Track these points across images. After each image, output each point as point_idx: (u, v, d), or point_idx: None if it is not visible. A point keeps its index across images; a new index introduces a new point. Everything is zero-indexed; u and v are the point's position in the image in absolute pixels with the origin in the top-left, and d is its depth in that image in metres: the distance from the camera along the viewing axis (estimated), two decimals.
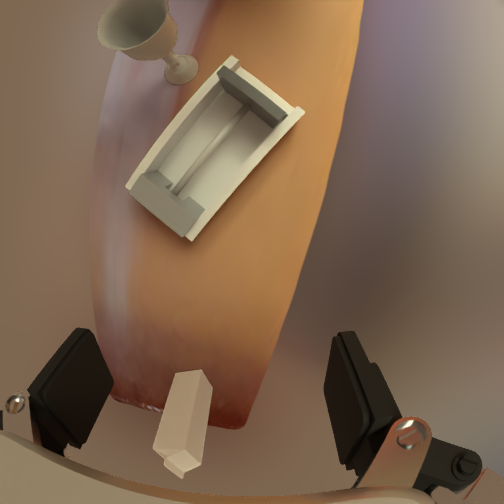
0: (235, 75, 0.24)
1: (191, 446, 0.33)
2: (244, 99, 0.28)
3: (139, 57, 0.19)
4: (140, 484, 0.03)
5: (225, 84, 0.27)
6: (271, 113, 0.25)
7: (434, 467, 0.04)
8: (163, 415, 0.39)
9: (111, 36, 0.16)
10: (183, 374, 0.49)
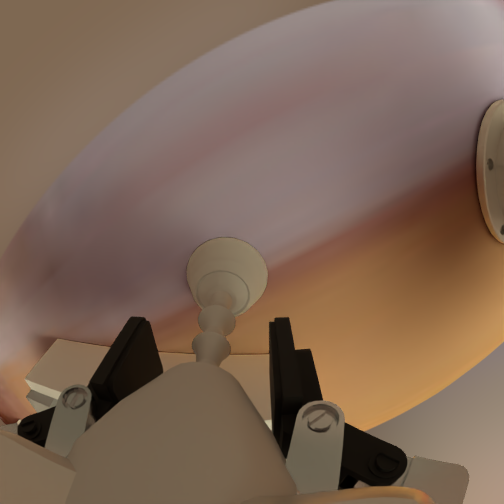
0: None
1: None
2: None
3: None
4: None
5: None
6: None
7: (347, 457, 0.05)
8: None
9: None
10: None
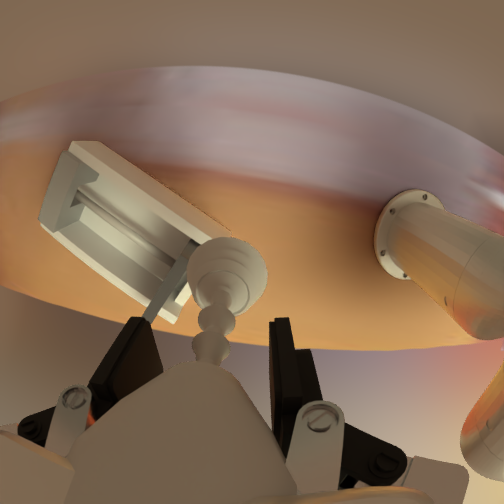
0: (179, 275, 0.24)
1: None
2: None
3: None
4: None
5: None
6: (145, 311, 0.25)
7: (347, 457, 0.05)
8: None
9: None
10: None
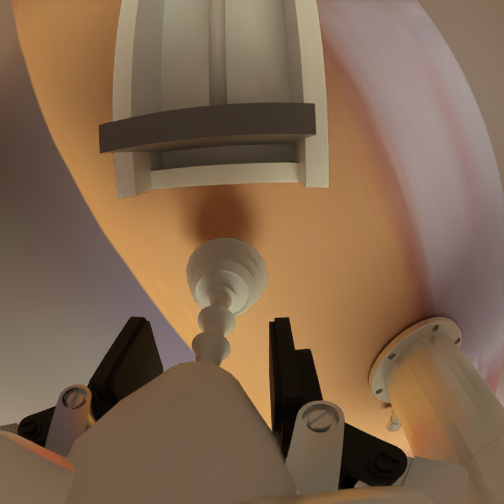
0: (266, 128, 0.09)
1: None
2: None
3: None
4: None
5: None
6: (120, 122, 0.09)
7: (348, 457, 0.05)
8: None
9: None
10: None
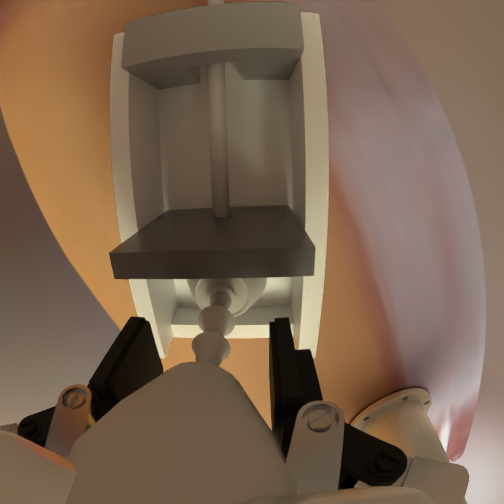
0: (268, 272, 0.11)
1: None
2: (227, 224, 0.14)
3: None
4: None
5: (284, 226, 0.13)
6: (130, 254, 0.10)
7: (348, 457, 0.05)
8: None
9: None
10: None
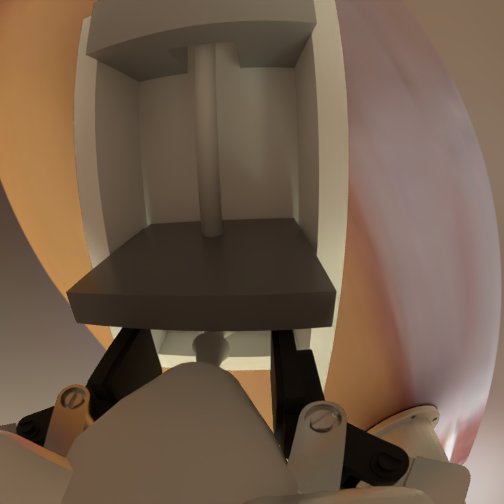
0: (271, 324, 0.08)
1: None
2: (217, 249, 0.11)
3: None
4: None
5: (291, 252, 0.10)
6: (90, 296, 0.07)
7: (350, 457, 0.05)
8: None
9: None
10: None
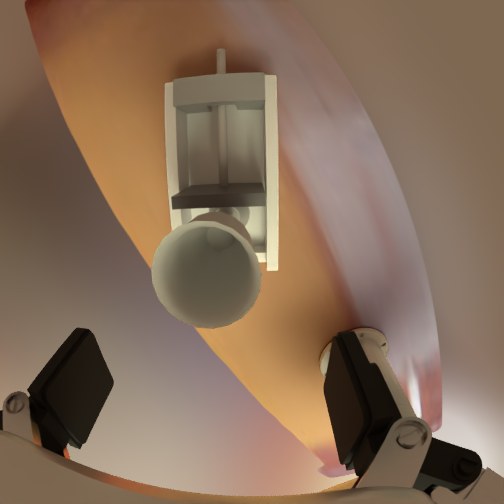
0: (245, 204, 0.24)
1: None
2: (226, 188, 0.27)
3: (183, 278, 0.20)
4: (140, 484, 0.03)
5: (255, 188, 0.26)
6: (182, 197, 0.24)
7: (434, 467, 0.04)
8: None
9: (174, 243, 0.17)
10: None
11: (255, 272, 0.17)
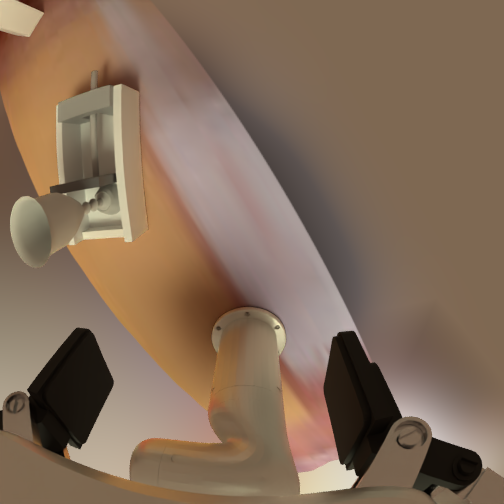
0: (87, 187, 0.27)
1: None
2: None
3: (39, 239, 0.24)
4: (140, 484, 0.03)
5: None
6: (55, 186, 0.27)
7: (434, 467, 0.04)
8: (10, 0, 0.12)
9: (24, 213, 0.21)
10: (36, 20, 0.23)
11: (52, 227, 0.20)
